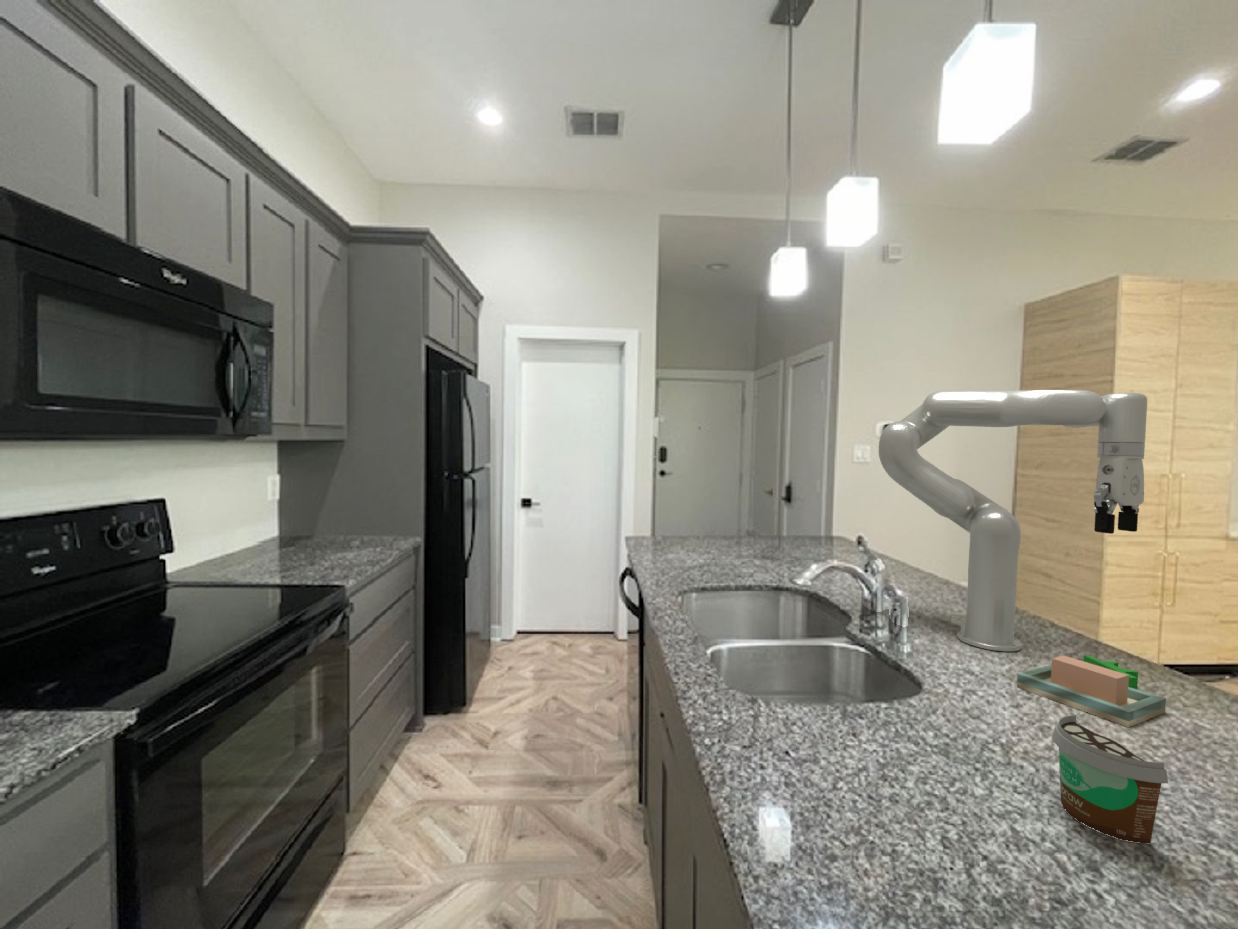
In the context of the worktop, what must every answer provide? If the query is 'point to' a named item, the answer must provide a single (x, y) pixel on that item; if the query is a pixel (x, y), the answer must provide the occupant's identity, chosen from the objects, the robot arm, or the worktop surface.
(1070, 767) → the food container
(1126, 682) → the salmon pink rectangular block
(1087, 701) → the nest board
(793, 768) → the worktop surface
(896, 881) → the worktop surface
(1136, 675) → the pipe clamp
